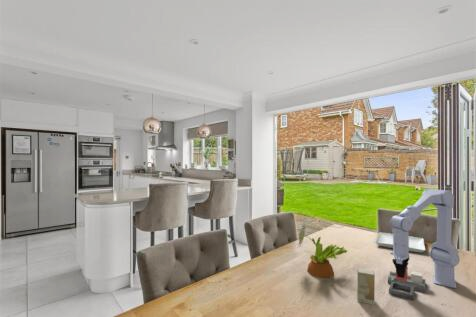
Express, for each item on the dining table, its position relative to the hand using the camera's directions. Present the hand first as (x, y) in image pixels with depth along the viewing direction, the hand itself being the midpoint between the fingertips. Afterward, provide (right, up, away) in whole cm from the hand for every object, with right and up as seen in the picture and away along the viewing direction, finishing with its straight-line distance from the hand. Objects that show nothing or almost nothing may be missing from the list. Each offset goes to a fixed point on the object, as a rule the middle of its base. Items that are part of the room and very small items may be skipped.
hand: (401, 275), depth 109 cm
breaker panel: (+8, -8, +8) cm, 13 cm away
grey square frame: (0, -8, 0) cm, 8 cm away
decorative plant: (-28, -8, +19) cm, 35 cm away
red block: (0, -2, 0) cm, 2 cm away
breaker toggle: (+11, -6, +6) cm, 13 cm away
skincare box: (-18, -8, -6) cm, 21 cm away
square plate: (+38, -8, +60) cm, 72 cm away
